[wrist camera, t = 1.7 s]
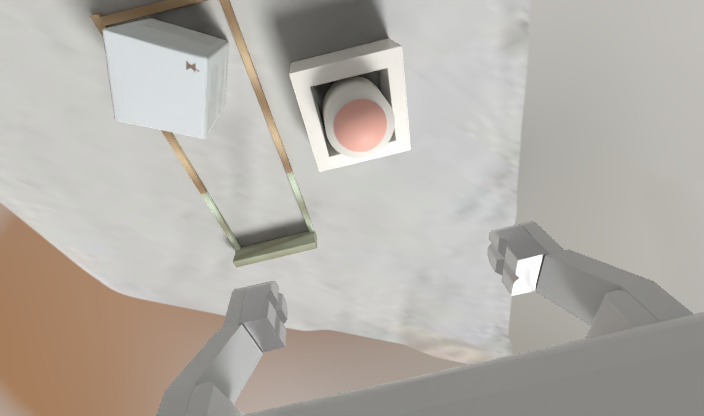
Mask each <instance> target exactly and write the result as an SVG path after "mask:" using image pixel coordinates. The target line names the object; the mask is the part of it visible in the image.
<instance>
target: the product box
mask: <svg viewBox="0 0 704 416" xmlns="http://www.w3.org/2000/svg"><path fill="white" fill-rule="evenodd" d="M102 32H103V39H104V46H105V53H106V61H107V68H108V76H109V82H110V90H111V97H112V103H113V110H114V118H115V120H116V121H120V122H125V123H129V124H134V125H139V126H144V127H149V128H153V129H159V130H163V131H168V132H173V133H178V134H183V135H187V136H192V137H197V138H201V139H205V138H206V137H207V135H208V133H209V132H210V130H211V129H212V127H213V125H214V124H215V122H216V121H217V119H218V117H219V116H220V114H221V113H222V111H223V110H224V108H225V103H226V91H227V75H228V55H229V42H228V41H227V40H224V39H220V38H217V37H214V36H210V35H207V34H204V33H200V32H197V31H194V30H190V29H187V28H184V27H180V26H177V25H174V24H170V23H167V22H163V21H160V20H156V19H153V18H149V19H145V20H140V21H135V22H131V23H126V24H122V25H118V26H113V27H109V28H104V29H103V30H102Z"/></svg>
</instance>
